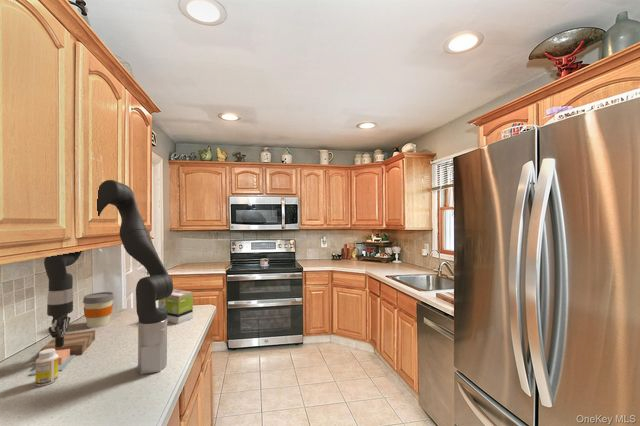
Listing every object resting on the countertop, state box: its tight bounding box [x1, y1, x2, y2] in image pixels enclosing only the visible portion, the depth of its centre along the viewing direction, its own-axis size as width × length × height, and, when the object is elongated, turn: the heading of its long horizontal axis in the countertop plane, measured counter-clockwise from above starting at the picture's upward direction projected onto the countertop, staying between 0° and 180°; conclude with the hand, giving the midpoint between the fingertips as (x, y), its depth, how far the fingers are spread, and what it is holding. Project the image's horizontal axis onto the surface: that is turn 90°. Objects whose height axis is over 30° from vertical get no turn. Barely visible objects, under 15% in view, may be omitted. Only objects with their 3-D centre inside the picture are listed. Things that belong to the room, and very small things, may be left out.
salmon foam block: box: [55, 349, 70, 365], centre depth 112 cm, size 8×6×2 cm
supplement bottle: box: [34, 349, 59, 387], centre depth 99 cm, size 6×6×10 cm
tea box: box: [157, 288, 194, 325], centre depth 160 cm, size 15×10×15 cm
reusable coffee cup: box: [82, 291, 115, 329], centre depth 152 cm, size 13×13×15 cm
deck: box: [39, 329, 96, 356], centre depth 123 cm, size 16×13×4 cm
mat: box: [28, 354, 77, 377], centre depth 110 cm, size 13×9×1 cm
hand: (59, 346), depth 114 cm, fingers closed
